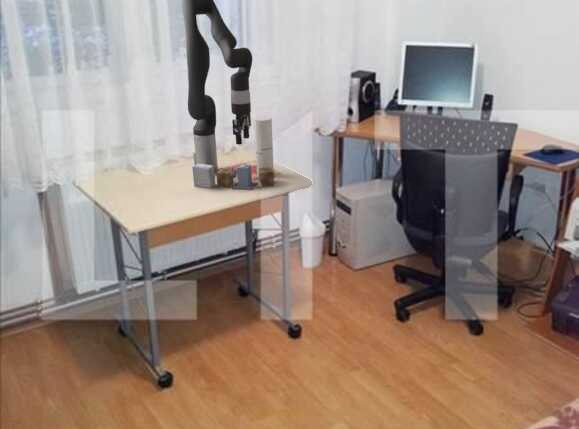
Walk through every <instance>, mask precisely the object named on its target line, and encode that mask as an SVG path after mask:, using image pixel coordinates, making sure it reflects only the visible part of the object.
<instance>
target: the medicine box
mask: <svg viewBox="0 0 579 429" xmlns="http://www.w3.org/2000/svg"><path fill="white" fill-rule="evenodd" d="M191 168H192V178H193V186H194V187H196V188H197V187H198V188H206V189H212V188H214V187H215V186H217V183H216V175H215V174H216V173H214V166H212V165H205V164H197V165H193V166H192V167H191Z"/></svg>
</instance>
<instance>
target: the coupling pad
mask: <svg viewBox="0 0 579 429" xmlns="http://www.w3.org/2000/svg"><path fill="white" fill-rule="evenodd" d="M257 185H258V181H252V184H251V185H250V186H249V187H241V186H238V181H237V182H236V183H235V184H234V185H233V186H232V190H244V191H252V190H253V189H254V188H255V187H256V186H257Z"/></svg>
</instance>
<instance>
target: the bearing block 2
mask: <svg viewBox="0 0 579 429" xmlns="http://www.w3.org/2000/svg"><path fill="white" fill-rule="evenodd" d="M258 178H259V183H260V185H261V187H263V188H264V187H265V188H266V187H273V186H275V171H273V170H272V168H271V167H267V168H259V177H258Z"/></svg>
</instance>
